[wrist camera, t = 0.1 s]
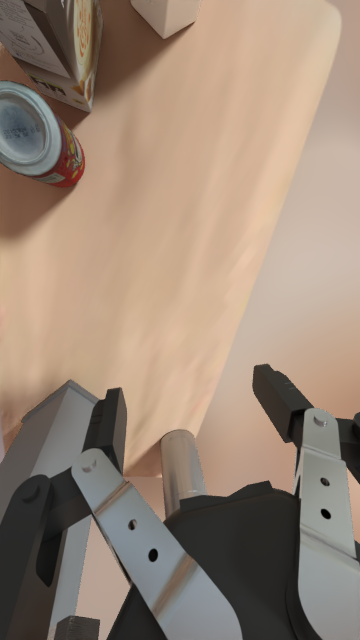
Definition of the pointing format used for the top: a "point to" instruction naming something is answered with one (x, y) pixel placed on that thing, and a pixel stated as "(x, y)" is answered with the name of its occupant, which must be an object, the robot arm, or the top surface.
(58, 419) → the stand
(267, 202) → the top surface
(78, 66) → the coffee box
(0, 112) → the soda can
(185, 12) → the jar
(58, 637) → the grey rectangular bar
